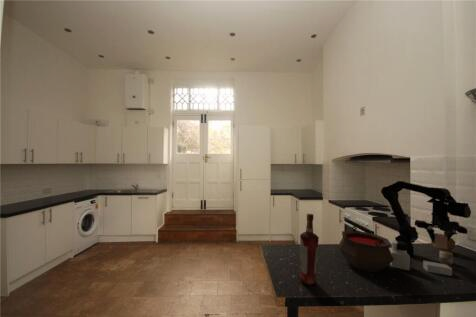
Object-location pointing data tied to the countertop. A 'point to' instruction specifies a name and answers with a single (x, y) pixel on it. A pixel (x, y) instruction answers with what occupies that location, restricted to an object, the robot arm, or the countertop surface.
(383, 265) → the brown pot
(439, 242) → the terracotta tall brick
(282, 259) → the countertop surface
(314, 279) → the liquor
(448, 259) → the round birch brick
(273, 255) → the countertop surface
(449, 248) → the natural sponge
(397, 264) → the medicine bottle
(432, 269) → the long grey brick
